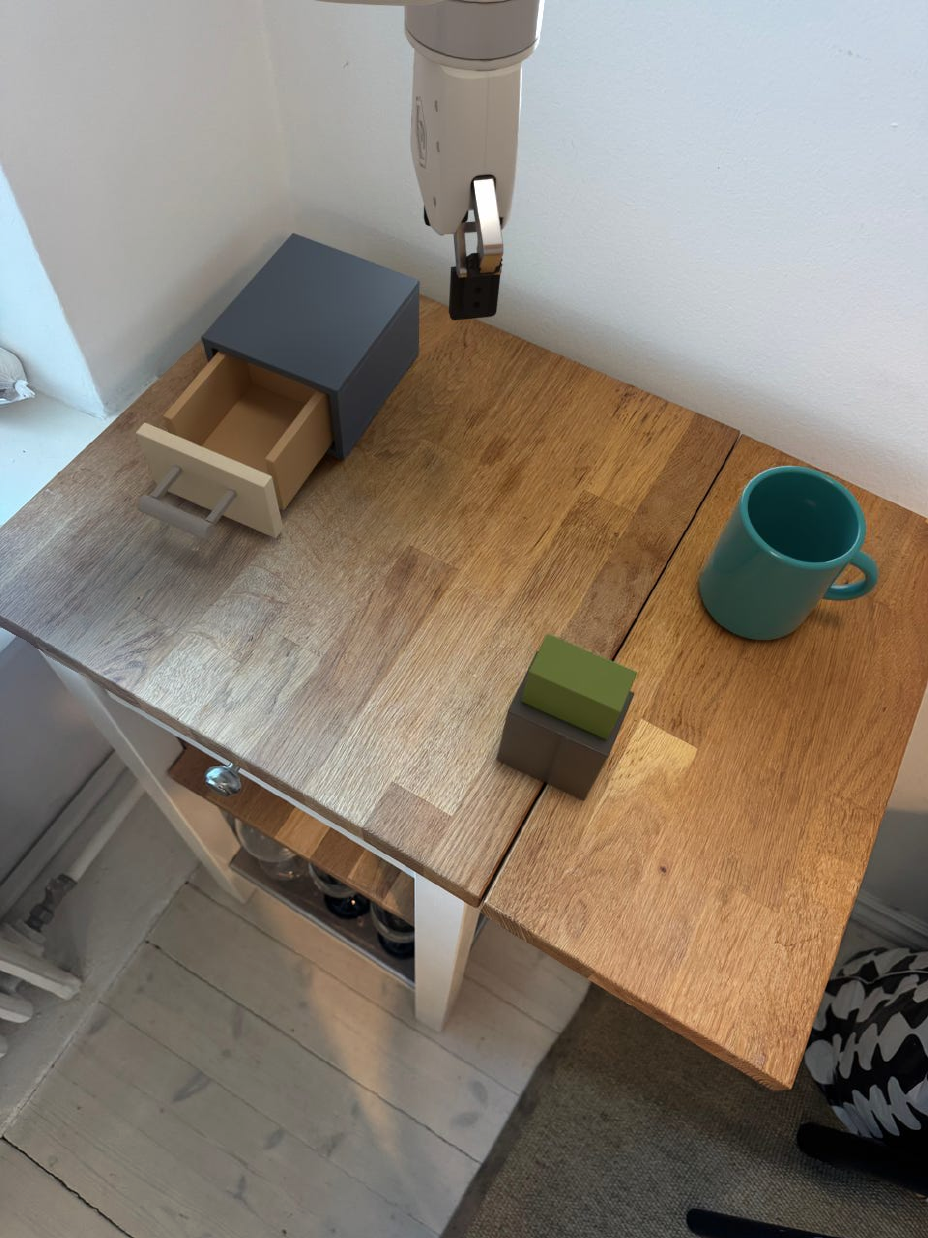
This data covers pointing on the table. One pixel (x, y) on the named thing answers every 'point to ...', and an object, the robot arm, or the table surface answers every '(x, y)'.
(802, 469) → the cup
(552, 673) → the olive green block
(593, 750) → the dark gray block
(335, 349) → the cabinet
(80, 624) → the table surface
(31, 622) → the table surface
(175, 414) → the drawer
